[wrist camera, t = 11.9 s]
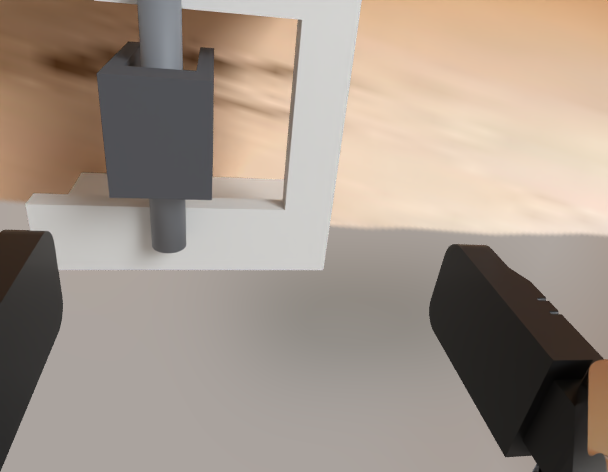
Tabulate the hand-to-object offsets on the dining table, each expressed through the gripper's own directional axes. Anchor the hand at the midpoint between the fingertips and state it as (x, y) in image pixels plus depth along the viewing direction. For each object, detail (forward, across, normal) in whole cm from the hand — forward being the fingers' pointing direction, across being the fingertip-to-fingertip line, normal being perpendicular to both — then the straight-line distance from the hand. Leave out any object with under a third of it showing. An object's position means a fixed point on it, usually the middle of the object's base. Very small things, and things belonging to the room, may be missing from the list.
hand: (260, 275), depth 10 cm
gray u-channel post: (+24, +4, +2) cm, 24 cm away
